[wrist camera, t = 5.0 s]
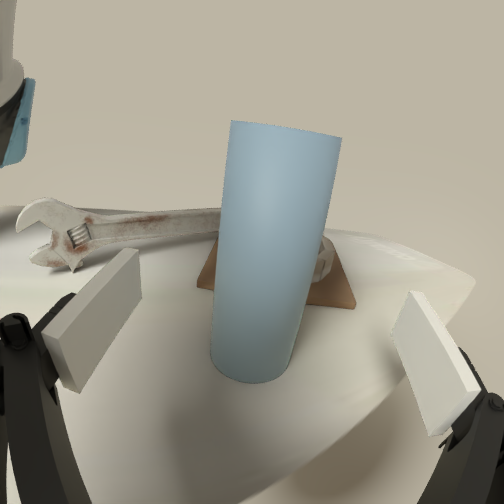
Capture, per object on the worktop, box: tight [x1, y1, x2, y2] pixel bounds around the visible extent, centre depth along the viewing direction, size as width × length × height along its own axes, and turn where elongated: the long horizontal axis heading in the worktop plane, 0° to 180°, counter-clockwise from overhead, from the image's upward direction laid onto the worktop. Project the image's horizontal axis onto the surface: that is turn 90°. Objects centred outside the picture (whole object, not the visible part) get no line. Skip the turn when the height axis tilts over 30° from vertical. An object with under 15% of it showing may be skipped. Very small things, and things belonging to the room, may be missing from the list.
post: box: [210, 120, 342, 383], centre depth 18 cm, size 6×6×16 cm
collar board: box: [197, 236, 356, 309], centre depth 35 cm, size 16×16×3 cm
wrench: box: [16, 198, 221, 273], centre depth 33 cm, size 8×2×30 cm
